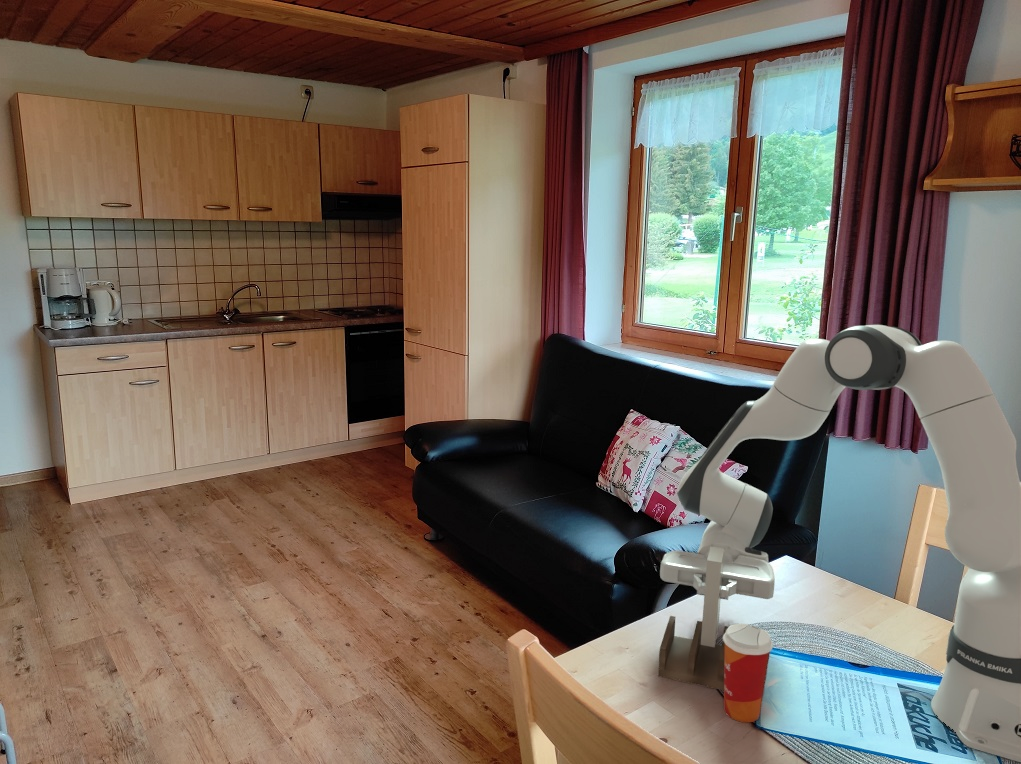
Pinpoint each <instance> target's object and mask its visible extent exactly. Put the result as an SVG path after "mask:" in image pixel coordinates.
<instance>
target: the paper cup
mask: <svg viewBox="0 0 1021 764" xmlns="http://www.w3.org/2000/svg"><path fill="white" fill-rule="evenodd" d="M722 638H723V641H724V643H725V662H724V690H723V708H724V712H725V714H726V715H727V717H729V718H730V719H732V720H735V721H737V722H740V723H749V724H750V723H753V722H755V721H758V720H759V719H760V718H759V717H760V715H761V710H762V705H763V700H764V699H763V698H764V693H765V685H766V679H767V672H768V667H769V659H770V654H771V651H772V650H773V647H774V643H773V642H772V640H771V639H772V638H771V635H770V634H769V633H768V631H766V630H765V629H764V628H762V629H761V628H760V627H758V626H755V625H750V623H734V624H731V625H730V626H729V627H728V628H727V630H726V632H725V634H724V635H723V634H722Z"/></svg>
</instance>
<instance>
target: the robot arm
mask: <svg viewBox="0 0 1021 764" xmlns="http://www.w3.org/2000/svg"><path fill="white" fill-rule="evenodd" d="M895 387H896V388H899V389H900V390H902V391H903V392H905V394H906V395H907V396H908V398H909V399H910V401H911V402H912V404H913V406H914V408H915V412H916V413H917V415H918V418H919V419H920V423H921V425H922V426H923V429H924V432H925V434H926V436H927V439H928V441H929V442H930V445H931V447H932V450H933V452H934V454H935V456H936V459H937V462H938V465H939V468H940V473H941V475H942V477H941V478H942V481H943V486H944V491H945V499H946V506H947V520H946V524H945V526H944V527H945V528H944V539H945V543H946V545H947V548H948V550H949V552H950V553H951V554H952V555H953V557H954V558H955V559H956V560H957V561H959V562H960V564H962V565H963V566H965V567H967V568H968V570H967V571H966V573H965V575H964V576H963V578H962V580H961V581H960V584H959V589H958V597H957V601H956V610H955V615H954V616H955V617H954V624H953V625H951V629H950V631H949V633H948V635H947V636H948V638H947V642H946V643H947V644H946V650H945V651H946V652H945V655H946V665H945V669H944V672H943V675H942V679H941V680H940V682H939V683H940V684H939V686H938V687H937V690H936V692H935V693H934V695H933V697H932V698H931V701H930V704H931V705H930V706H931V710H932V711H933V713H934V714H935V716H936V715H937V716H938V717H937V716H936V717H937V718H938V719H939V720H940V721H941V722H942V723H943V722H944V723H945V724H946V725H945V724H944V723H943V724H944V725H945V726H947V727H948V726H949V727H950V728H949V727H948V728H949V729H951V730H952V729H953V730H954V731H953V730H952V731H953V732H954V733H955V732H956V733H955V734H956V735H957V738H958V739H959V740H960V741H961V742H962V744H964V745H965V746H966V747H968V748H970V749H974V750H978V751H979V752H980V751H981V752H984V753H988V754H991V755H994V756H998V757H1001V758H1004V759H1008V760H1011V761H1014V762H1018V763H1021V481H1020V478H1019V477H1020V476H1019V472H1018V466H1017V459H1016V458H1017V457H1016V455H1017V454H1016V452H1017V446H1018V445H1017V439H1016V437H1015V435H1014V433H1013V431H1012V429H1011V426H1010V424H1009V422H1008V420H1007V418H1006V416H1005V414H1004V412H1003V410H1002V407H1001V405H1000V403H999V401H998V400H997V397H996V395H995V393H994V391H993V390H992V387H991V386H990V383H989V382H988V380H987V378H986V377H985V375H984V373H983V372H982V370H981V369H980V367H979V366H978V364H977V363H976V361H975V360H974V359H973V357H972V356H971V354H970V353H969V352H968V351H967V349H966V348H965V347H964V346H963V345H961V344H960V343H958V342H956V341H952V340H945V339H944V340H934V341H930V342H928V343H925V344H923V343H922V342H921V340H920V339H919V338H918V337H917V336H916V335H915V334H914V333H912V332H910V331H909V330H907V329H905V328H902V327H898V326H887V325H883V324H866V325H853V326H850V327H848V328H845V329H843V330H841V331H840V332H838V333H837V334H836V335H835V336H834V337H832V339H831V340H827V339H824V338H809V339H806V340H804V341H802V342H801V343H800V344H799V345H798V346H797V347H796V348H795V350H794V351H793V352H792V354H791V355H790V356H789V357H788V359H787V360H786V362H785V363H784V364H783V366H782V368H781V369H780V371H779V373H778V375H777V376H776V378H775V380H774V382H773V384H772V386H771V387H770V388H769V390H768V391H767V392H766V393H765V394H764V395H763V396H761V397H760V398H757V400H747V401H745V402H744V403H742V404H741V405H740V407H738V409H737V410H736V411H735V412H734V413H733V415H731V417H730V418H729V420H728V421H727V422H726V423H725V425H723V427H722V428H721V430H720V431H719V432H718V434H717V435H716V436H715V437H714V439H713V440H712V442H711V443H710V444H709V446H708V447H707V448H706V449H705V451H704V452H703V453H702V455H700V457H699V459H697V461H696V462H695V464H693V465H692V466H691V467H690V468H689V469H688V470H687V471H686V472H685V473H684V475H683V476H682V477H681V480H680V481H679V484H678V487H677V492H676V495H677V497H678V500H679V502H680V504H681V506H682V507H683V509H684V510H685V511H687V512H690V513H692V514H695V515H697V516H701V517H703V518H706V519H708V520H709V521H710V522H709V524H708V525H707V526H706V528H705V530H704V532H703V534H702V537H701V540H700V544H699V547H698V550H697V552H691V551H690V552H689V551H684V550H671V551H669V552H667V553H664V555H663V556H662V560H661V562H660V569H659V576H660V579H661V580H662V581H664V582H667V583H672V584H673V583H674V584H679V585H683V586H691V587H693V588H694V589H695V590H696V595H699V596H704V594H705V581H706V567H707V558H708V555H709V551H710V547H717V548H723V549H725V550H724V562H723V575H722V586H721V588H720V596H719V598H720V600H721V599H722V600H725V601H728V600H729V597H731V596H733V595H740V596H747V597H750V598H751V597H753V598H758V599H762V600H763V599H764V600H770V599H773V597H774V593H775V572H774V568H773V566H772V564H771V563H769V554H768V553H767V552H765V551H762V550H758V549H755V548H754V547H755V546H757V545H759V544H761V541H762V540H763V539H764V538H765V535H766V533H767V532H768V529H769V527H770V524H771V522H772V517H773V513H774V512H773V510H774V507H773V503H772V499H771V498H770V496H769V493H766V492H764V491H762V490H761V489H759V488H756V487H754V486H752V485H751V484H748V483H746V482H743V481H741V480H738V479H736V478H735V477H732V476H730V475H728V474H726V473H724V472H722V471H721V470H720V468H721V466H722V465H723V464H724V462H725V461H726V459H727V458H728V457H729V455H730V454H732V452H733V451H734V449H735V448H736V447H738V445H739V444H740V443H742V442H743V441H745V440H749V439H750V440H752V439H768V440H776V441H797V440H802V439H805V438H808V437H810V436H812V435H814V434H815V433H817V431H819V429H820V428H821V426H822V425H823V423H824V422H825V420H826V419H827V418H828V416H829V415H830V412H831V410H832V409H833V406H834V405H835V403H836V401H837V400H838V398H839V396H840V394H841V393H842V392H843V390H845V388H849V389H853V390H858V391H869V390H874V391H875V390H877V391H881V390H887V389H891V388H895Z"/></svg>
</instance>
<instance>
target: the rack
mask: <svg viewBox="0 0 1021 764" xmlns="http://www.w3.org/2000/svg"><path fill="white" fill-rule="evenodd" d="M665 627H666V628H665V631H664V634H663V637H662V640H661V642H660V643H661V644H660V647H659V655H658V656H659V659H658V675H657V676H658V677H659V678H660V677H661V678H664V679H670V680H673V681H679V682H683V683H689V684H693V685H698V686H702V687H707V688H711V689H716V690H720V691H724V662H725V643H724V641H723V637H722V639H721V644H718V643H715V647H710V646H705V645H701V634H702V621H701V620H697V621H696V624H695V627H694V632H693V636H692V638H688V637H684V636H683V637H682V636H677V635H675V632H676V631H675V630H676V616H674V615H669V618H668V622H667V624H666V626H665ZM728 627H729V626H727V625H724V628H723V633H722V636H723V635H724V634H725V632H726V630H727V628H728Z"/></svg>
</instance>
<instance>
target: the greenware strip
mask: <svg viewBox="0 0 1021 764" xmlns="http://www.w3.org/2000/svg"><path fill="white" fill-rule="evenodd" d="M724 550H725V549H723V548H717V547H710V551H709V555H708V558H707V567H706V581H705V594H704V595H703V597H704V598H703V609H702V610H703V611H702V634H701V645H705V646H710V647H715V644H717V639H718V633H719V624H720V623H719V622H720V610H721V599H720V598H719V596H720V588H721V586H722V575H723V562H724Z"/></svg>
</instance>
